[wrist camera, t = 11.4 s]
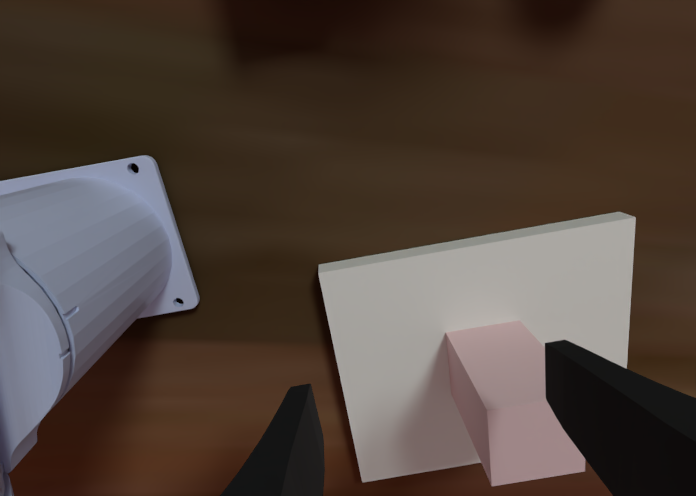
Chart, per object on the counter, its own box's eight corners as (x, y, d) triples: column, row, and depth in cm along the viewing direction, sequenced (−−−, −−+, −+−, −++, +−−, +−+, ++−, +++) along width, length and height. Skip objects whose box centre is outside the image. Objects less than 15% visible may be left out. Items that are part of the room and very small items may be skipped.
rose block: (451, 393, 23) (491, 486, 17) (445, 332, 22) (486, 410, 16) (521, 382, 23) (585, 471, 17) (519, 320, 22) (587, 394, 16)
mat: (360, 466, 26) (362, 482, 25) (318, 264, 21) (318, 273, 20) (609, 424, 26) (622, 438, 25) (619, 211, 21) (635, 217, 20)
